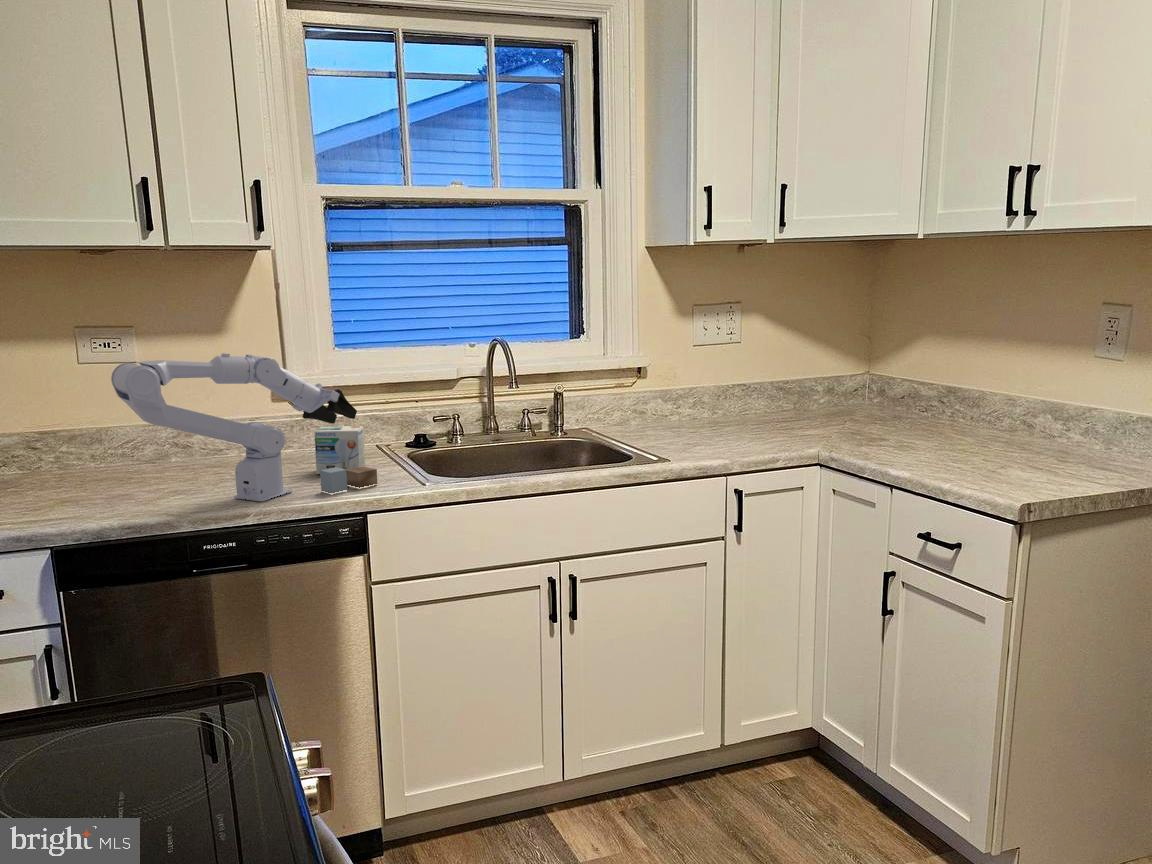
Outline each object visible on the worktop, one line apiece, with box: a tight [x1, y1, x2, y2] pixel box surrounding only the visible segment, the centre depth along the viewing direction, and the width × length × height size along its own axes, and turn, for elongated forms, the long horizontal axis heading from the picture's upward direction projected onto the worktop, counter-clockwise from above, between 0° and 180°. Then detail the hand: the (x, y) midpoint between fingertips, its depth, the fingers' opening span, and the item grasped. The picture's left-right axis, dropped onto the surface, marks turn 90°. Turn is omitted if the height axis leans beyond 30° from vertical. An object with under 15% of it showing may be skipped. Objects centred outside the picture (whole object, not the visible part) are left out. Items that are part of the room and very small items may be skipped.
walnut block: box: [346, 465, 378, 488], centre depth 201 cm, size 5×5×4 cm
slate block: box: [319, 467, 348, 493], centre depth 196 cm, size 4×4×5 cm
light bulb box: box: [314, 425, 366, 475], centre depth 216 cm, size 11×7×11 cm, turn 92°
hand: (344, 417), depth 205 cm, fingers open, 7 cm apart
